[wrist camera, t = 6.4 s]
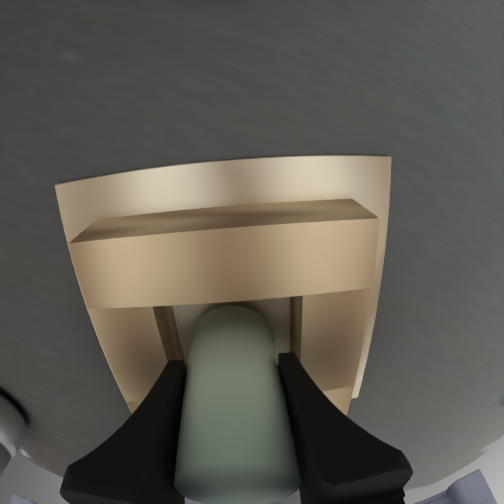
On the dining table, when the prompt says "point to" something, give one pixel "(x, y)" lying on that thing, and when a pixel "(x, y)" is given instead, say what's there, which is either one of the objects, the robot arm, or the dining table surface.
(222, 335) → the dowel
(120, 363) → the socket block
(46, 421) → the dining table surface
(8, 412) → the plastic bottle
